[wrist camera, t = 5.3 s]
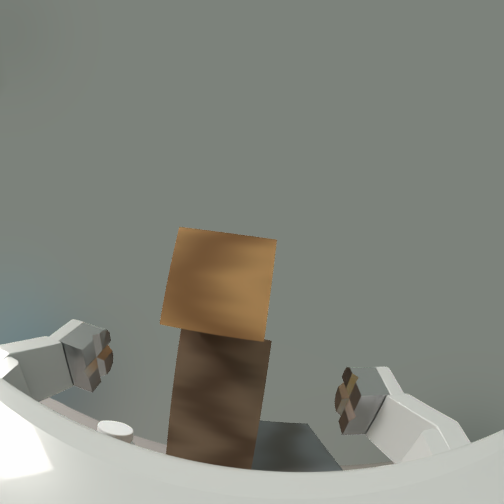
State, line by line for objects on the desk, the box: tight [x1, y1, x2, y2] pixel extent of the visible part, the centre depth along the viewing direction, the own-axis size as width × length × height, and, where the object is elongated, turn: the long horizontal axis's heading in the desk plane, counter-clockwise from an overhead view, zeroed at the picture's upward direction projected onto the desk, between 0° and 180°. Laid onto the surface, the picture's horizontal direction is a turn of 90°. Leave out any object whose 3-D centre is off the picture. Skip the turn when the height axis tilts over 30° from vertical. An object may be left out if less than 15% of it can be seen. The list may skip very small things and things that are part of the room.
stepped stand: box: [166, 329, 343, 472], centre depth 20 cm, size 13×14×26 cm
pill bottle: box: [97, 421, 135, 445], centre depth 24 cm, size 6×6×11 cm
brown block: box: [160, 227, 277, 342], centre depth 20 cm, size 4×20×4 cm, turn 1°
